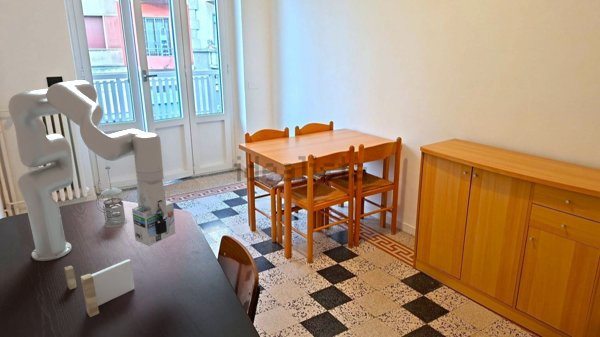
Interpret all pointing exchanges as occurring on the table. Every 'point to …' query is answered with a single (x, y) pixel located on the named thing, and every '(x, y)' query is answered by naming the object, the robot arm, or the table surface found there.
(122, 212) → the french press
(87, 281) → the tan wooden blocky piece
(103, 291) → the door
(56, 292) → the table surface
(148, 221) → the light bulb box
